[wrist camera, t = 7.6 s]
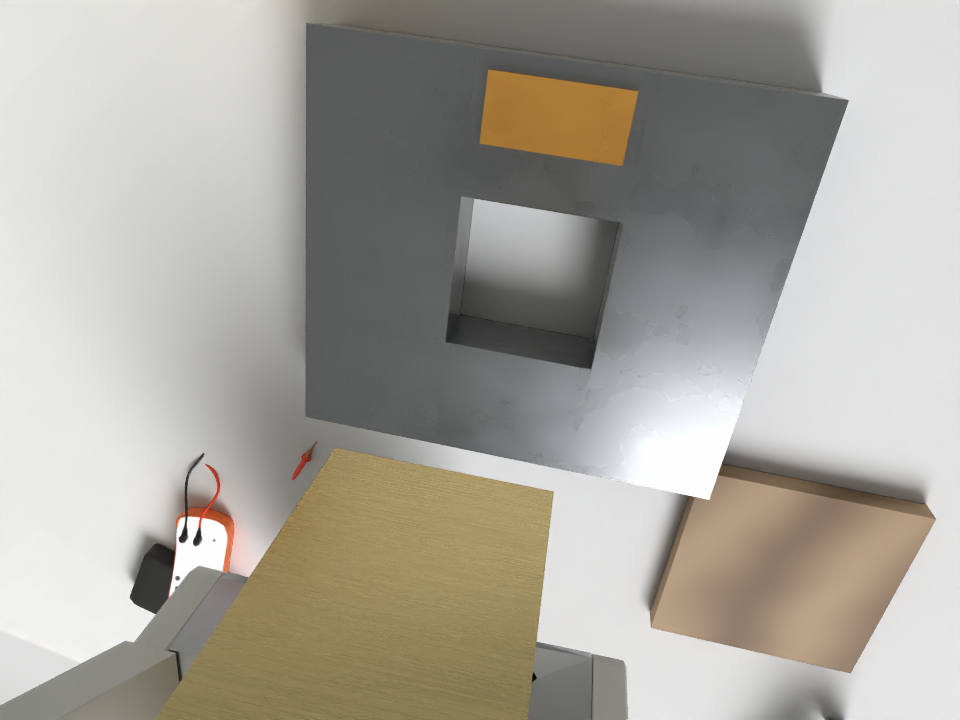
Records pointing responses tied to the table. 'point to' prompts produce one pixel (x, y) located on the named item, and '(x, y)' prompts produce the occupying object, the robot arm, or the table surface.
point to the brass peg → (383, 603)
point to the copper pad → (787, 566)
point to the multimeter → (188, 550)
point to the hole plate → (559, 188)
